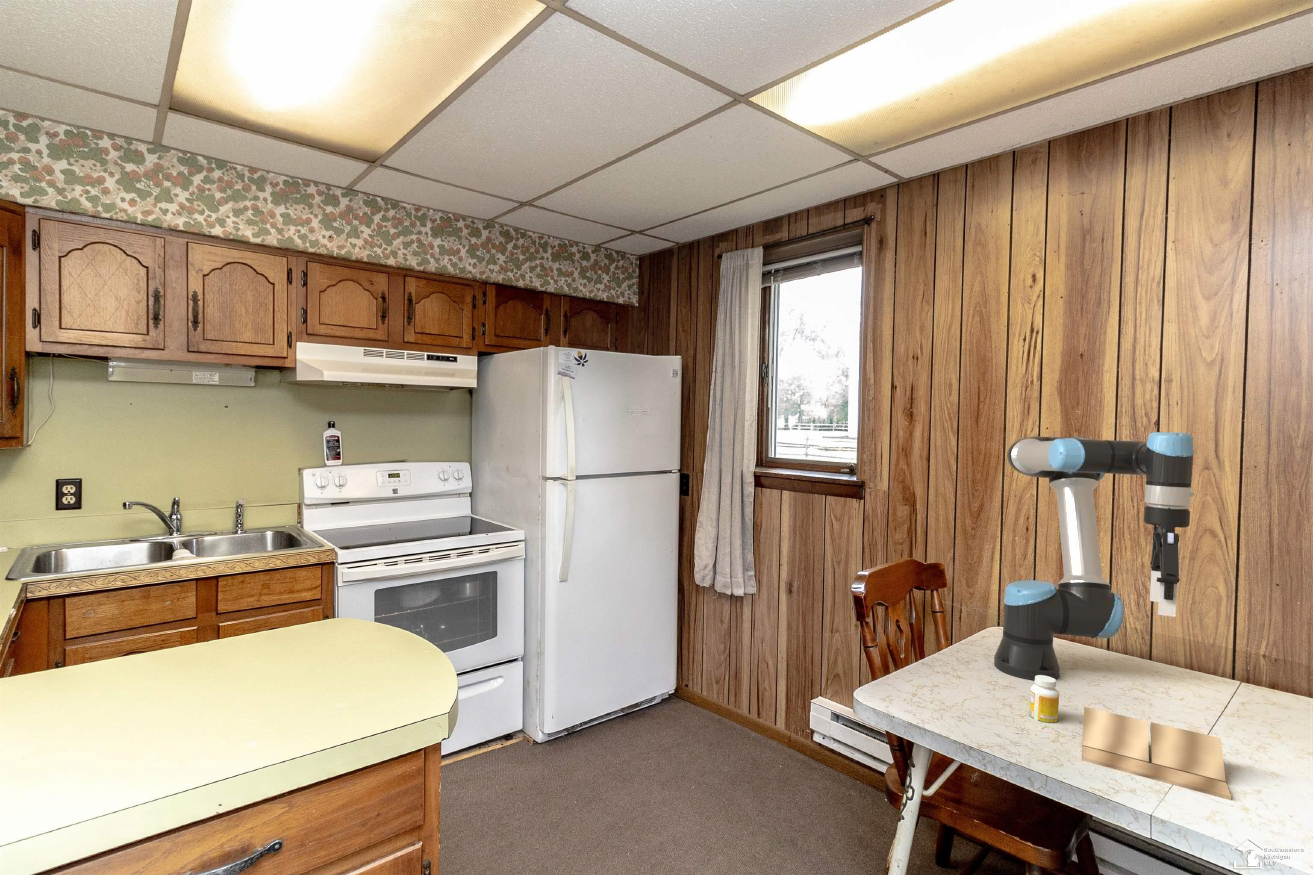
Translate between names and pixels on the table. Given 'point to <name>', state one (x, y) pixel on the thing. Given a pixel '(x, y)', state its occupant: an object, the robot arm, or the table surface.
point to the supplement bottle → (1044, 700)
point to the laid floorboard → (1156, 772)
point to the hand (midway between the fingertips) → (1162, 608)
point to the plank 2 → (1187, 751)
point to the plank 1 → (1116, 734)
